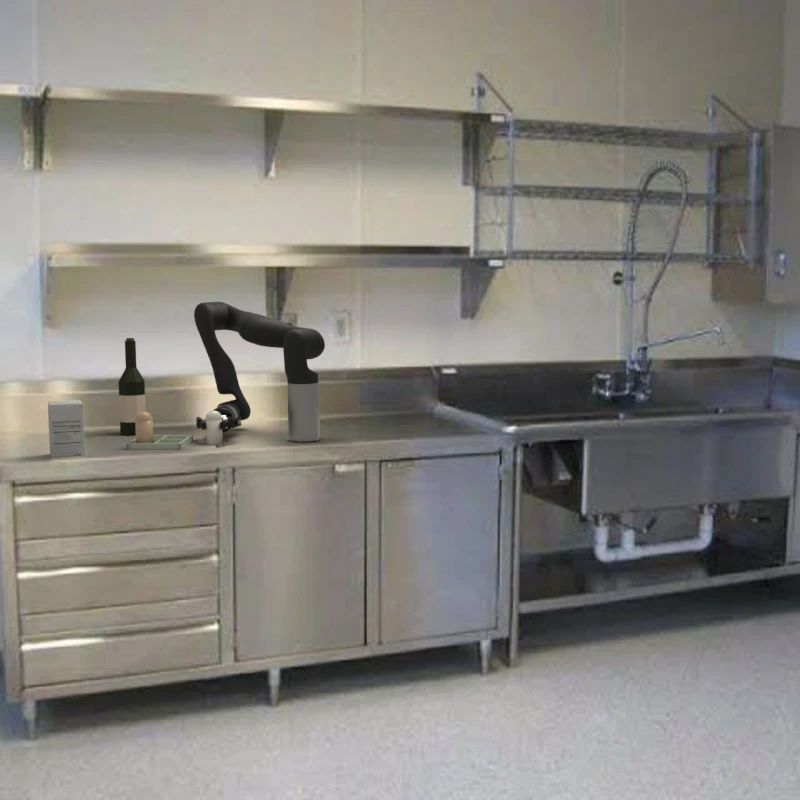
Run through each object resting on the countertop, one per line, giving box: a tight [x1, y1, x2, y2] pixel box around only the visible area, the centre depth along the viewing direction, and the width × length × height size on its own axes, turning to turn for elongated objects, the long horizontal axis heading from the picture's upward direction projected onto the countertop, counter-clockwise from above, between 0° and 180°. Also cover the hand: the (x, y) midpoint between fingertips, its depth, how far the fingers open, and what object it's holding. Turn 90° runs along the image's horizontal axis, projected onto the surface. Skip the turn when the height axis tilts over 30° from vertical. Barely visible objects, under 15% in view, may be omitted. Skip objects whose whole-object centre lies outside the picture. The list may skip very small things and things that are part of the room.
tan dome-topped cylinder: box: [135, 411, 154, 443], centre depth 297 cm, size 5×5×10 cm
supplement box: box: [47, 399, 86, 459], centre depth 286 cm, size 9×9×15 cm
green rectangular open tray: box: [125, 434, 194, 450], centre depth 301 cm, size 15×15×2 cm
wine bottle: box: [118, 337, 147, 437], centre depth 324 cm, size 8×8×30 cm
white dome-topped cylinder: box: [204, 409, 224, 447], centre depth 303 cm, size 5×5×10 cm
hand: (212, 426), depth 300 cm, fingers closed on white dome-topped cylinder, 4 cm apart
